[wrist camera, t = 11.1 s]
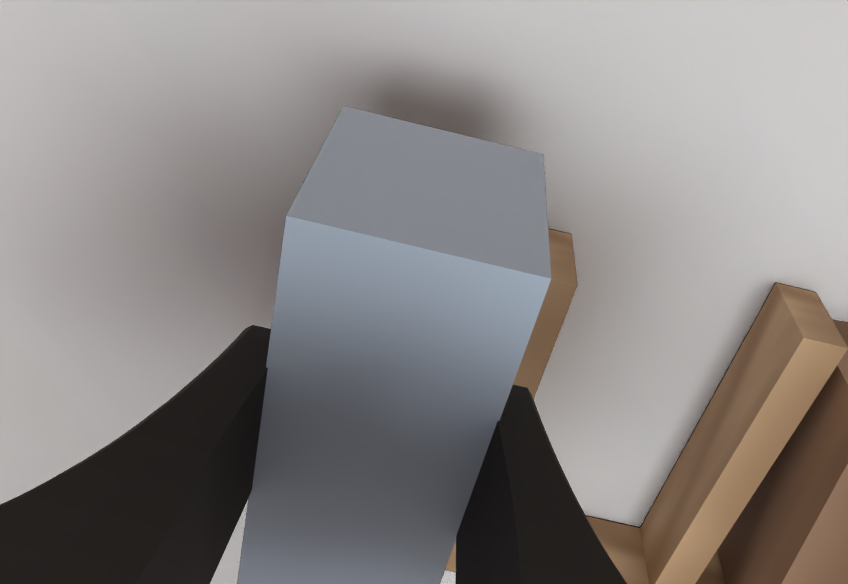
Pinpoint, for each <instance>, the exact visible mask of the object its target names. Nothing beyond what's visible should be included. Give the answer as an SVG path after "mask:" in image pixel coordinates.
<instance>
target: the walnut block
mask: <svg viewBox="0 0 848 584" xmlns="http://www.w3.org/2000/svg"><path fill="white" fill-rule="evenodd" d="M832 321H833V323H834V324H835V326H836V328H837V329H838V331H839V333H840V335H841V336H842V338H843V340H844V342H845V343H846V345H847V347H848V322H844V321H837V320H832ZM717 551H718V555H719V559H720V563H721V567H722V571H723V575H724V579H725V583H726V584H848V350H847V351H846V353H845V354H844V356H843V357H842V359H841V360H840V362H839V363H838V365H837V366H836V368H835V370H834V371H833V373H832V374H831V376H830V377H829V379H828V380H827V382H826V383H825V385H824V386H823V388H822V390H821V391H820V393H819V394H818V396H817V397H816V399H815V400H814V402H813V403H812V405H811V406H810V408H809V410H808V411H807V413H806V414H805V416H804V417H803V419H802V420H801V422H800V423H799V425H798V426H797V428H796V430H795V431H794V433H793V434H792V436H791V437H790V439H789V440H788V442H787V443H786V445H785V446H784V448H783V449H782V451H781V453H780V454H779V456H778V457H777V459H776V460H775V462H774V463H773V465H772V466H771V468H770V469H769V471H768V473H767V474H766V476H765V477H764V479H763V480H762V482H761V483H760V485H759V486H758V488H757V489H756V491H755V493H754V494H753V496H752V497H751V499H750V500H749V502H748V503H747V505H746V506H745V508H744V509H743V511H742V513H741V514H740V516H739V517H738V519H737V520H736V522H735V523H734V525H733V526H732V528H731V529H730V531H729V533H728V534H727V536H726V537H725V539H724V540H723V542H722V543H721V545H720V546H719V548H718V549H717Z"/></svg>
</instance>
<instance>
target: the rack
mask: <svg viewBox="0 0 848 584" xmlns="http://www.w3.org/2000/svg"><path fill="white" fill-rule="evenodd" d="M548 234H549V250H550V265H551V281H550V284H549V287H548V289H547V292H546V295H545V298H544V300H543V303H542V306H541V309H540V311H539V314H538V317H537V320H536V322H535V325H534V328H533V330H532V333H531V336H530V339H529V341H528V344H527V347H526V350H525V352H524V355H523V358H522V361H521V363H520V366H519V369H518V371H517V374H516V377H515V380H514V382H513V385H518V386H522V387H527V388H528V389H529V391H530V393H531V394H532V397H533V399H534V396H535V394H536V391H537V388H538V386H539V383H540V381H541V378H542V375H543V373H544V370H545V368H546V365H547V363H548V360H549V357H550V355H551V352H552V350H553V347H554V344H555V342H556V339H557V337H558V334H559V331H560V329H561V326H562V324H563V321H564V318H565V316H566V313H567V311H568V308H569V305H570V303H571V300H572V298H573V295H574V292H575V290H576V287H577V277H576V268H575V260H574V251H573V243H572V234H567V233H563V232H559V231H555V230H551V229H548ZM847 350H848V347H847V345H846V343H845V342H844V340H843V338H842V336H841V335H840V333H839V331H838V329H837V328H836V326H835V324H834V323H833V321H832V319H831V317H830V316H829V314H828V312H827V310H826V309H825V307H824V305H823V303H822V302H821V300H820V298H819V296H818V295H817V293H816V292H812V291H808V290H804V289H800V288H796V287H791V286H787V285H783V284H779V283H775V285H774V287H773V289H772V291H771V292H770V294H769V296H768V298H767V300H766V301H765V303H764V305H763V307H762V309H761V311H760V312H759V314H758V316H757V318H756V320H755V321H754V323H753V325H752V327H751V329H750V330H749V332H748V334H747V336H746V338H745V339H744V341H743V343H742V345H741V347H740V349H739V350H738V352H737V354H736V356H735V358H734V359H733V361H732V363H731V365H730V367H729V368H728V370H727V372H726V374H725V376H724V377H723V379H722V381H721V383H720V385H719V386H718V388H717V390H716V392H715V394H714V396H713V397H712V399H711V401H710V403H709V405H708V406H707V408H706V410H705V412H704V414H703V415H702V417H701V419H700V421H699V423H698V424H697V426H696V428H695V430H694V432H693V434H692V435H691V437H690V439H689V441H688V443H687V444H686V446H685V448H684V450H683V452H682V453H681V455H680V457H679V459H678V461H677V462H676V464H675V466H674V468H673V470H672V472H671V473H670V475H669V477H668V479H667V481H666V482H665V484H664V486H663V488H662V490H661V491H660V493H659V495H658V497H657V499H656V500H655V502H654V504H653V506H652V508H651V509H650V511H649V513H648V515H647V517H646V519H645V520H644V522H643V524H642V526H641V528H637V527H633V526H628V525H624V524H619V523H615V522H610V521H606V520H601V519H597V518H592V517H588V516H586V517H587V519H588V521H589V523H590V525H591V526H592V528H593V530H594V532H595V534H596V535H597V537H598V539H599V540H600V542H601V544H602V545H603V547H604V549H605V550H606V552H607V554H608V555H609V557H610V558H611V560H612V561H613V563H614V564H615V566H616V568H617V569H618V571H619V572H620V574H621V575H622V577H623V578H624V580H625V581H626V583H627V584H726V583H725V579H724V575H723V571H722V567H721V563H720V559H719V555H718V551H717V549H718V548H719V546H720V545H721V543H722V542H723V540H724V539H725V537H726V536H727V534H728V533H729V531H730V529H731V528H732V526H733V525H734V523H735V522H736V520H737V519H738V517H739V516H740V514H741V513H742V511H743V509H744V508H745V506H746V505H747V503H748V502H749V500H750V499H751V497H752V496H753V494H754V493H755V491H756V489H757V488H758V486H759V485H760V483H761V482H762V480H763V479H764V477H765V476H766V474H767V473H768V471H769V469H770V468H771V466H772V465H773V463H774V462H775V460H776V459H777V457H778V456H779V454H780V453H781V451H782V449H783V448H784V446H785V445H786V443H787V442H788V440H789V439H790V437H791V436H792V434H793V433H794V431H795V430H796V428H797V426H798V425H799V423H800V422H801V420H802V419H803V417H804V416H805V414H806V413H807V411H808V410H809V408H810V406H811V405H812V403H813V402H814V400H815V399H816V397H817V396H818V394H819V393H820V391H821V390H822V388H823V386H824V385H825V383H826V382H827V380H828V379H829V377H830V376H831V374H832V373H833V371H834V370H835V368H836V366H837V365H838V363H839V362H840V360H841V359H842V357H843V356H844V354H845V353H846V351H847ZM445 570H447V571H451V572H456V541H455V544H454V547H453V549H452V552H451V555H450V558H449V560H448V563H447V566H446V569H445Z"/></svg>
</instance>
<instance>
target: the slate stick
mask: <svg viewBox="0 0 848 584" xmlns="http://www.w3.org/2000/svg"><path fill="white" fill-rule="evenodd" d="M550 281H551V265H550V250H549V234H548V218H547V203H546V187H545V171H544V155H543V154H539V153H535V152H531V151H527V150H523V149H519V148H515V147H510V146H506V145H502V144H498V143H494V142H490V141H486V140H482V139H478V138H473V137H469V136H465V135H461V134H457V133H453V132H449V131H445V130H441V129H437V128H432V127H428V126H424V125H420V124H416V123H412V122H408V121H404V120H400V119H395V118H391V117H387V116H383V115H379V114H375V113H371V112H367V111H363V110H358V109H354V108H350V107H346V106H343V108H342V110H341V112H340V113H339V115H338V117H337V119H336V121H335V123H334V125H333V127H332V129H331V131H330V133H329V135H328V136H327V138H326V140H325V142H324V144H323V146H322V148H321V150H320V152H319V154H318V156H317V158H316V160H315V161H314V163H313V165H312V167H311V169H310V171H309V173H308V175H307V177H306V179H305V181H304V183H303V184H302V186H301V188H300V190H299V192H298V194H297V196H296V198H295V200H294V202H293V204H292V206H291V208H290V209H289V211H288V213H287V215H286V221H285V228H284V236H283V243H282V251H281V258H280V266H279V273H278V281H277V288H276V296H275V303H274V311H273V318H272V326H271V333H270V341H269V348H268V356H267V363H266V368H268V371H267V378H266V386H265V393H264V401H263V409H262V416H261V424H260V432H259V439H258V447H257V454H256V462H255V470H254V477H253V485H252V491H251V493H250V495H249V498H248V505H247V513H246V520H245V528H244V535H243V543H242V550H241V557H240V565H239V572H238V580H237V584H440V582H441V579H442V577H443V574H444V571H445V569H446V566H447V563H448V560H449V558H450V555H451V552H452V549H453V547H454V544H455V541H456V535H457V532H458V529H459V527H460V524H461V521H462V518H463V516H464V513H465V510H466V507H467V504H468V502H469V499H470V496H471V493H472V491H473V488H474V485H475V482H476V480H477V477H478V474H479V471H480V468H481V466H482V463H483V460H484V457H485V455H486V452H487V449H488V446H489V444H490V441H491V438H492V435H493V432H494V430H495V427H496V424H497V421H500V418H501V415H502V413H503V410H504V407H505V404H506V402H507V399H508V396H509V393H510V391H511V388H512V385H513V382H514V380H515V377H516V374H517V371H518V369H519V366H520V363H521V361H522V358H523V355H524V352H525V350H526V347H527V344H528V341H529V339H530V336H531V333H532V330H533V328H534V325H535V322H536V320H537V317H538V314H539V311H540V309H541V306H542V303H543V300H544V298H545V295H546V292H547V289H548V287H549V284H550Z"/></svg>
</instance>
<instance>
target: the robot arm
mask: <svg viewBox="0 0 848 584" xmlns="http://www.w3.org/2000/svg"><path fill="white" fill-rule="evenodd" d="M270 333H271V329H268V328H263V327H259V326H254V325H252V326H250V327H248V328H246V329H245V330H244V331H243V332H242V333H241V334H240V335H239V336H238V337H237V339H236V340H235V341H234V342H233V343H232V344H231V345H230V346H229V347H228V348H227V349H226V350H225V351H224V352H223V353H222V354H221V355H220V356H219V357H218V358H216V359H215V360H214V361H213V362H212V363H211V364H210V365H209V366H208V367H207V368H206V369H205V370H204V371H203V372H201V373H200V374H199V375H198V376H197V377H196V378H194V379H193V380H192V381H191V382H190V383H189V384H188V385H186V386H185V387H184V388H183V389H182V390H181V391H179V392H178V393H177V394H176V395H175V396H174V397H172V398H171V399H170V400H169V401H167V402H166V403H165V404H163V405H162V406H161V407H160V408H158V409H157V410H156V411H154V412H153V413H152V414H150V415H149V416H148V417H147V418H145V419H144V420H143V421H141V422H140V423H139V424H137V425H136V426H135V427H133V428H132V429H131V430H129V431H128V432H126V433H125V434H123V435H122V436H120V437H119V438H118V439H116V440H115V441H113V442H112V443H110V444H109V445H107V446H106V447H104V448H102V449H101V450H99V451H98V452H96V453H95V454H93V455H91V456H90V457H88V458H87V459H85V460H83V461H82V462H80V463H78V464H77V465H75V466H73V467H71V468H70V469H68V470H66V471H64V472H63V473H61V474H59V475H57V476H56V477H54V478H52V479H50V480H49V481H47V482H45V483H43V484H41V485H39V486H37V487H36V488H34V489H32V490H30V491H28V492H26V493H24V494H22V495H20V496H18V497H16V498H14V499H12V500H9V501H7V502H5V503H3V504H1V505H0V584H210V582H211V579H212V577H213V575H214V573H215V571H216V568H217V566H218V564H219V562H220V560H221V557H222V555H223V553H224V551H225V549H226V546H227V544H228V542H229V540H230V538H231V535H232V533H233V531H234V529H235V527H236V524H237V522H238V520H239V518H240V515H241V513H242V511H243V509H244V507H245V504H246V502H247V500H248V498H249V495H250V493H251V491H252V485H253V477H254V470H255V462H256V454H257V447H258V439H259V432H260V424H261V416H262V409H263V401H264V393H265V386H266V378H267V371H268V368H266V363H267V356H268V348H269V341H270ZM456 584H627V583H626V581H625V580H624V578H623V577H622V575H621V574H620V572H619V571H618V569H617V568H616V566H615V564H614V563H613V561H612V560H611V558H610V557H609V555H608V554H607V552H606V550H605V549H604V547H603V545H602V544H601V542H600V540H599V539H598V537H597V535H596V534H595V532H594V530H593V528H592V526H591V525H590V523H589V521H588V519H587V517H586V516H585V514H584V512H583V510H582V508H581V506H580V504H579V503H578V501H577V499H576V497H575V495H574V493H573V491H572V489H571V487H570V485H569V482H568V480H567V478H566V476H565V474H564V472H563V470H562V468H561V466H560V464H559V461H558V459H557V457H556V455H555V453H554V450H553V448H552V446H551V443H550V441H549V438H548V436H547V434H546V431H545V429H544V426H543V424H542V421H541V419H540V416H539V413H538V411H537V408H536V405H535V402H534V400H533V397H532V394H531V393H530V391H529V389H528V388H527V387H522V386H518V385H512V388H511V391H510V393H509V396H508V399H507V402H506V404H505V407H504V410H503V413H502V415H501V418H500V421H497V424H496V427H495V430H494V432H493V435H492V438H491V441H490V444H489V446H488V449H487V452H486V455H485V457H484V460H483V463H482V466H481V468H480V471H479V474H478V477H477V480H476V482H475V485H474V488H473V491H472V493H471V496H470V499H469V502H468V504H467V507H466V510H465V513H464V516H463V518H462V521H461V524H460V527H459V529H458V532H457V535H456Z"/></svg>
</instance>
